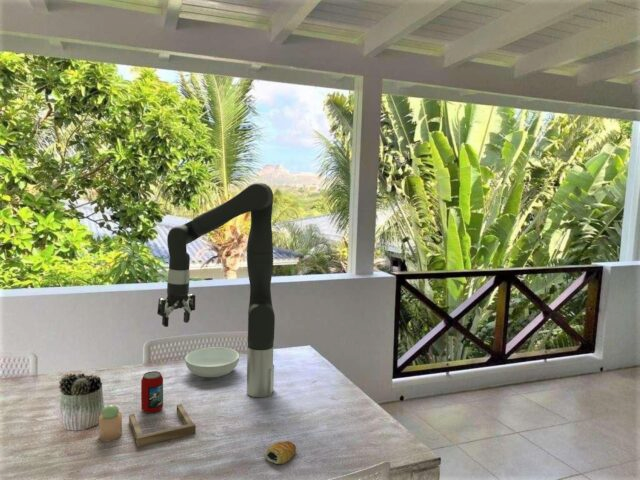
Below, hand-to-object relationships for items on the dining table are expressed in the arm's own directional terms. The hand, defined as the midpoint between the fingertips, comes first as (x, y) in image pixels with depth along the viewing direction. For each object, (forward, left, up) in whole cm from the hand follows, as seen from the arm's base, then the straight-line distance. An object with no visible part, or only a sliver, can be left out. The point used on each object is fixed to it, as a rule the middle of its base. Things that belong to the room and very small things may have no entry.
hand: (176, 324), depth 170 cm
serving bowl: (-10, -14, -24) cm, 29 cm away
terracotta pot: (+5, +36, -23) cm, 43 cm away
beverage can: (0, +19, -23) cm, 30 cm away
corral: (-7, +29, -23) cm, 38 cm away
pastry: (-45, +40, -24) cm, 65 cm away
